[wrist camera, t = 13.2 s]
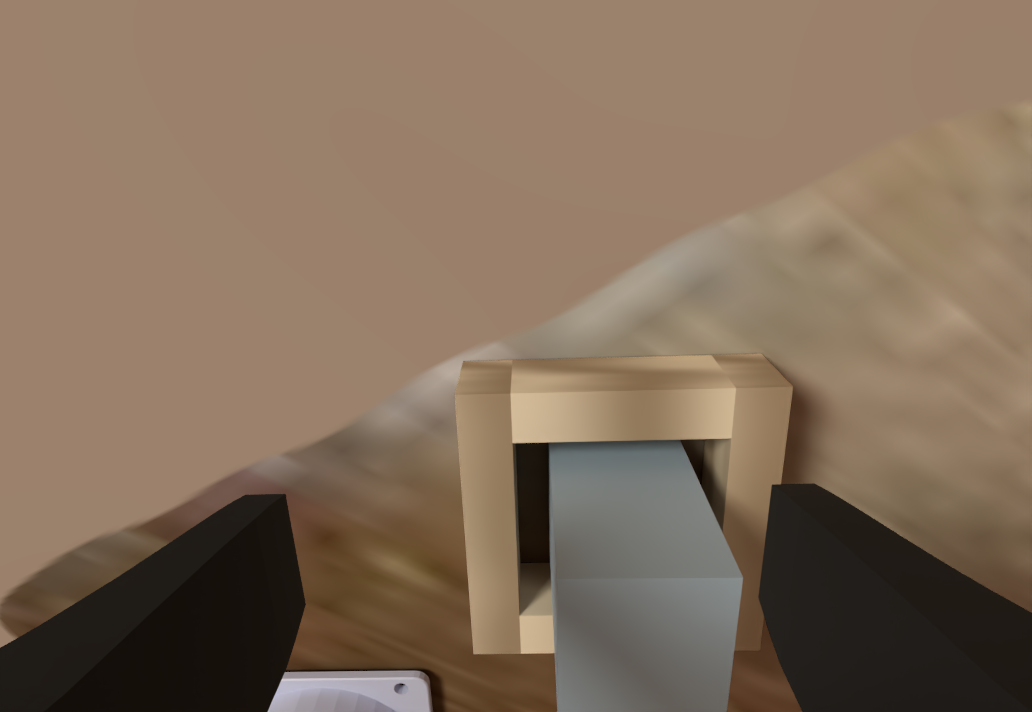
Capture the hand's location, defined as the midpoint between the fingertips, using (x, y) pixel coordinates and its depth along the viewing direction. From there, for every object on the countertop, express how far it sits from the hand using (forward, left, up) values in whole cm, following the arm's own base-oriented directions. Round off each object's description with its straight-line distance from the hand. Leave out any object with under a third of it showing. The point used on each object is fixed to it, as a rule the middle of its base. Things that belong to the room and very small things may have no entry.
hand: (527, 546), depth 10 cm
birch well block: (+2, -6, -10) cm, 12 cm away
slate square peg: (+2, -6, -10) cm, 12 cm away
